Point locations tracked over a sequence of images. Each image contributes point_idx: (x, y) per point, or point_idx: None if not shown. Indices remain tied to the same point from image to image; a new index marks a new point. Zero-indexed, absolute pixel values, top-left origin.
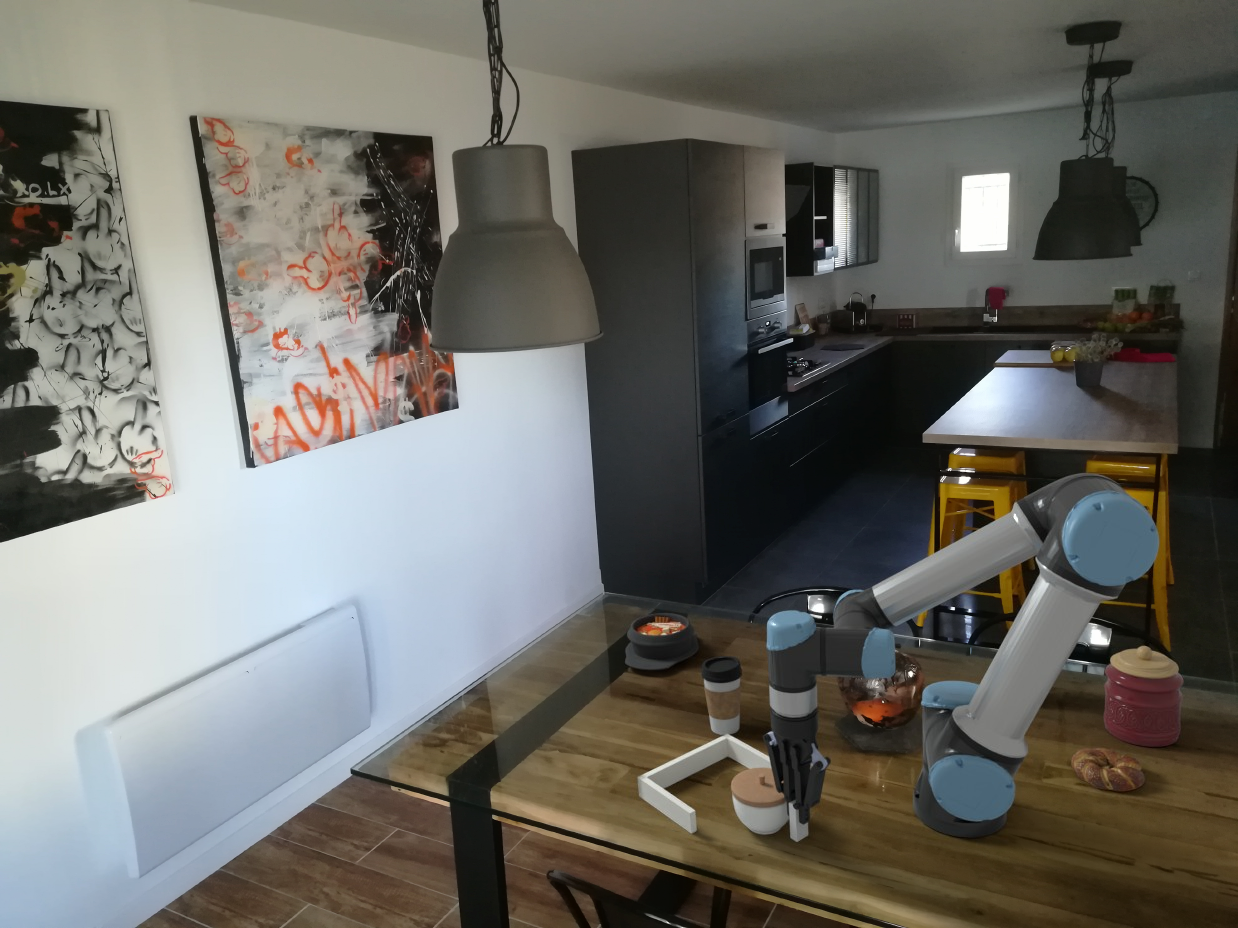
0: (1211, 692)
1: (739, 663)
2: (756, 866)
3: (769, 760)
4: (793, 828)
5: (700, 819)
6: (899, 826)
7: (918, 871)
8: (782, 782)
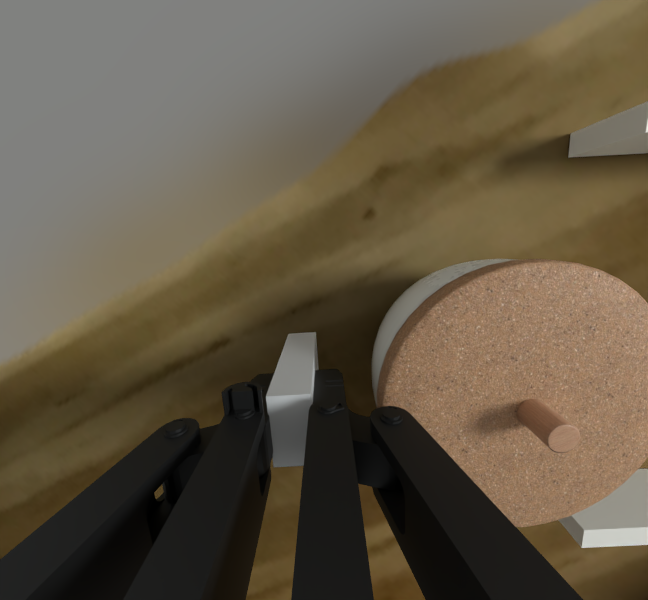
0: None
1: None
2: (318, 193)
3: (628, 532)
4: (297, 347)
5: (598, 205)
6: None
7: (72, 483)
8: None
